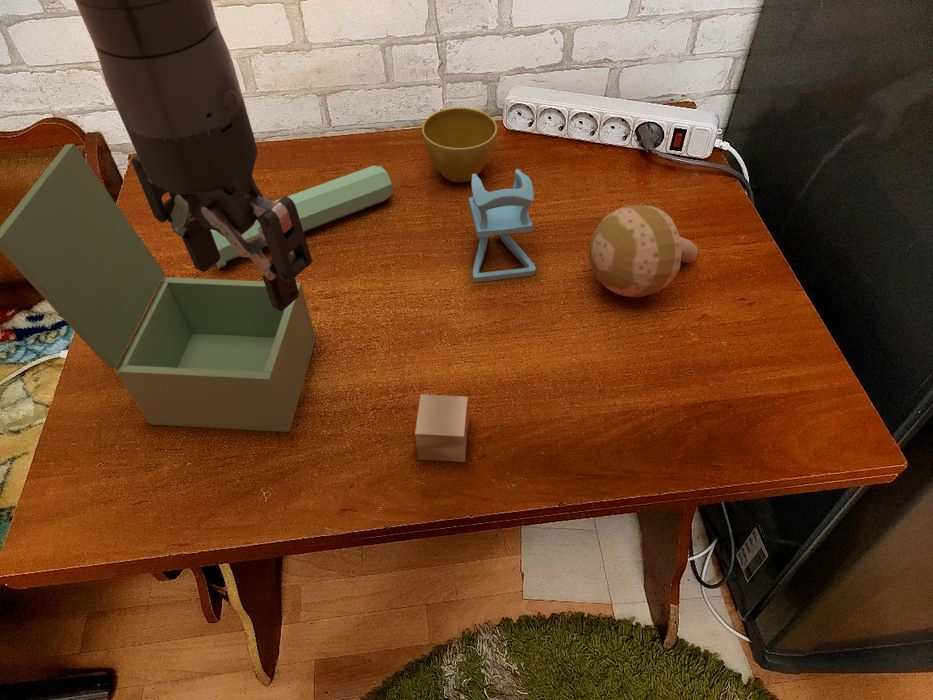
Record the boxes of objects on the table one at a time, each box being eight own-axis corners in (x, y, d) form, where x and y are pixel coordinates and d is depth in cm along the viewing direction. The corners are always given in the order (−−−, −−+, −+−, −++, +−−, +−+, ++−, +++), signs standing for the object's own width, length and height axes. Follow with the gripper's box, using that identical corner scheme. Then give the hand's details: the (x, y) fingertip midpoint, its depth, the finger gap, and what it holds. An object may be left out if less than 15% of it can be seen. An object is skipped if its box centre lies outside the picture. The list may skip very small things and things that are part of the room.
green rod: (380, 149, 90) (195, 214, 81) (402, 184, 89) (216, 254, 80) (376, 175, 96) (202, 239, 87) (396, 209, 94) (222, 277, 85)
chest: (316, 338, 77) (300, 282, 70) (289, 432, 69) (269, 379, 62) (190, 332, 78) (163, 276, 71) (149, 424, 70) (114, 371, 63)
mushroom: (736, 262, 80) (671, 243, 69) (671, 321, 85) (601, 312, 75) (685, 201, 85) (617, 175, 74) (626, 261, 90) (556, 244, 80)
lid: (73, 143, 59) (65, 144, 59) (-1, 238, 51) (-11, 239, 51) (165, 273, 71) (157, 273, 71) (116, 367, 63) (108, 368, 63)
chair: (522, 231, 89) (527, 151, 79) (536, 275, 83) (543, 195, 74) (463, 238, 88) (461, 158, 79) (473, 283, 83) (473, 202, 73)
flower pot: (509, 165, 98) (510, 120, 93) (472, 202, 93) (471, 157, 87) (450, 144, 102) (448, 100, 96) (411, 179, 96) (407, 134, 91)
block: (417, 459, 67) (414, 433, 63) (423, 420, 70) (420, 393, 66) (464, 462, 67) (464, 436, 63) (468, 423, 70) (467, 396, 66)
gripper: (59, 97, 44) (151, 279, 56) (219, 164, 39) (281, 348, 51) (150, 49, 48) (217, 229, 60) (305, 104, 43) (344, 288, 55)
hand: (246, 283), depth 56 cm, fingers open, 8 cm apart
